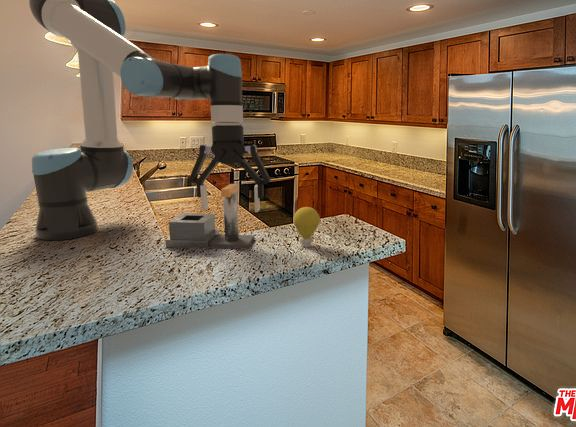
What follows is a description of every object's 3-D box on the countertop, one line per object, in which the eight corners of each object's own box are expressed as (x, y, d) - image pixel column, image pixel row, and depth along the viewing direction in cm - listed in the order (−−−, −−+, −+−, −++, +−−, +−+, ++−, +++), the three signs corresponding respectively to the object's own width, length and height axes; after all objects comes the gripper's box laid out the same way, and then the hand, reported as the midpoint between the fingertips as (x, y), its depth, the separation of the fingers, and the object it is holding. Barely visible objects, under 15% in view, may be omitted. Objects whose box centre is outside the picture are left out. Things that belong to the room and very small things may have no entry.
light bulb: (303, 251, 89) (303, 211, 86) (288, 244, 94) (288, 206, 92) (324, 246, 92) (325, 208, 90) (309, 239, 98) (309, 203, 95)
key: (234, 244, 90) (232, 189, 87) (220, 244, 91) (217, 189, 87) (242, 234, 99) (240, 184, 96) (229, 234, 99) (227, 183, 96)
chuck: (166, 247, 92) (163, 222, 90) (181, 235, 102) (179, 212, 100) (208, 248, 91) (207, 223, 89) (219, 236, 101) (218, 213, 99)
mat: (208, 247, 92) (208, 243, 91) (217, 237, 99) (217, 234, 99) (248, 248, 91) (247, 245, 90) (254, 238, 98) (254, 235, 98)
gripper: (280, 124, 90) (281, 208, 95) (183, 124, 93) (188, 206, 98) (277, 124, 83) (277, 215, 88) (171, 124, 85) (177, 212, 91)
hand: (230, 210), depth 93 cm, fingers open, 13 cm apart
